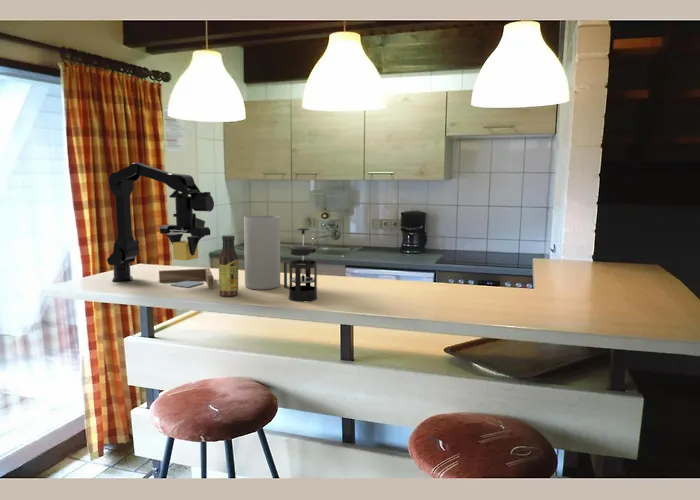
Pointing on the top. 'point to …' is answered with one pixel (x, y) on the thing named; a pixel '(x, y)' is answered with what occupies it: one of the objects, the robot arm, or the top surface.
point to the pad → (187, 284)
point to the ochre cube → (183, 251)
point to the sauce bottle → (228, 267)
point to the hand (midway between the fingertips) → (185, 254)
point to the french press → (300, 291)
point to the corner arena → (187, 276)
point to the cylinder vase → (262, 252)
